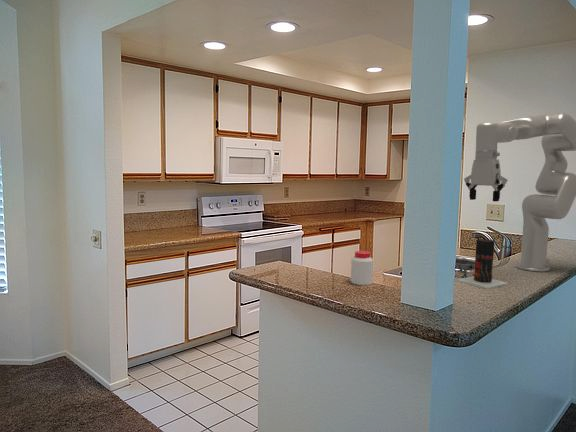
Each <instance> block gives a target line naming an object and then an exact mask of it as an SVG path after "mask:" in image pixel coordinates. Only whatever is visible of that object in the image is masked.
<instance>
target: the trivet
mask: <svg viewBox="0 0 576 432" xmlns="http://www.w3.org/2000/svg"><path fill="white" fill-rule="evenodd" d="M457 282H459V283H462V284H466V285H470V286H473V287H478V288H481V289H484V290H490V289H494V288H500V287H504V286H508V282H506V281H502V280H497V279H493V278H492V282H490V283H483V282H477V281H475V280H474V276H470V277H469V276H468V278H462V277H461V278H458V279H457Z"/></svg>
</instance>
